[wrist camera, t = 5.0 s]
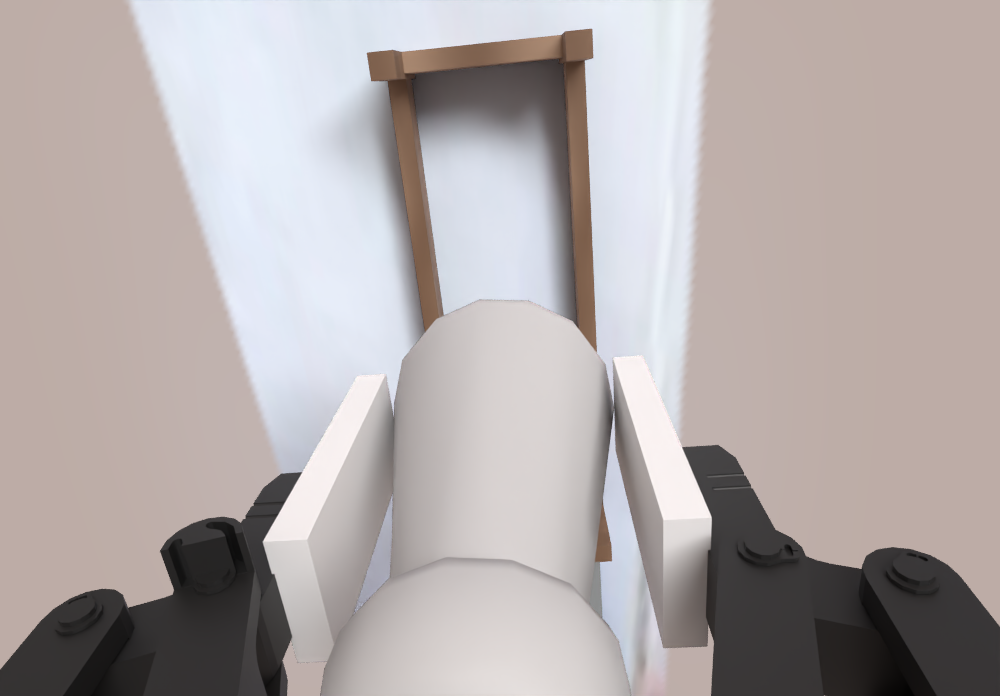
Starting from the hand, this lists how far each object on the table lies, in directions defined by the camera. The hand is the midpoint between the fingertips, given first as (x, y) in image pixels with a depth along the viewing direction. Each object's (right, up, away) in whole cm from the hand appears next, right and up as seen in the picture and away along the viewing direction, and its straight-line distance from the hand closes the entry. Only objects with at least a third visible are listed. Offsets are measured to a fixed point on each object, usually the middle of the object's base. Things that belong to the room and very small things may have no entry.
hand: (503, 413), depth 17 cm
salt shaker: (0, +1, +3) cm, 3 cm away
